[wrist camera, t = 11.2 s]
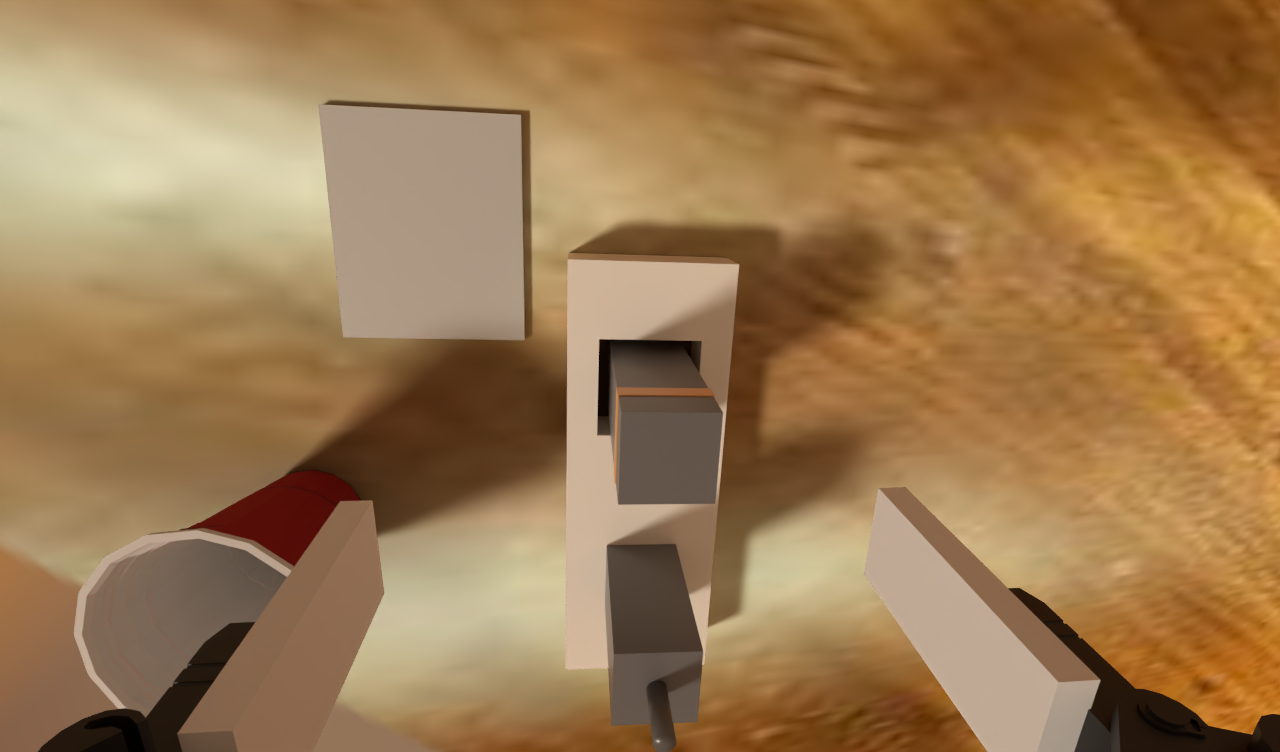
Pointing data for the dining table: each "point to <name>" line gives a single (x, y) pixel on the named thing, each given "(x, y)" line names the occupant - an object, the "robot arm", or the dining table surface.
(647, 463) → the plug
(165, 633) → the plastic cup
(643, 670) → the socket stand
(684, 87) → the dining table surface
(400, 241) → the white flat slab
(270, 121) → the dining table surface
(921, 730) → the dining table surface
